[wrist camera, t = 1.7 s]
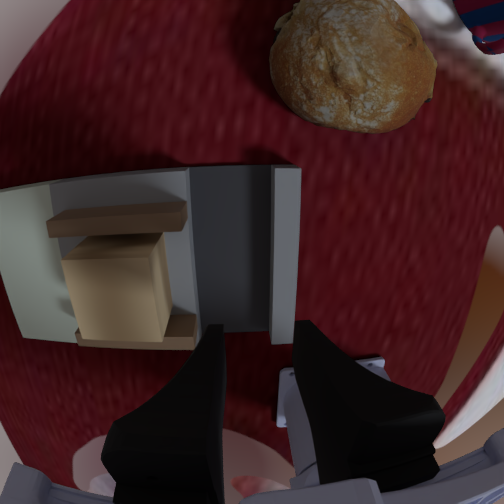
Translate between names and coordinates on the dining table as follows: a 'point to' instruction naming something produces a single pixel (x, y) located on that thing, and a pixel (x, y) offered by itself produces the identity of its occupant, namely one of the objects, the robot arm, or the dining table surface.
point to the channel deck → (176, 242)
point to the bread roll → (351, 64)
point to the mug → (484, 23)
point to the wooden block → (120, 286)
